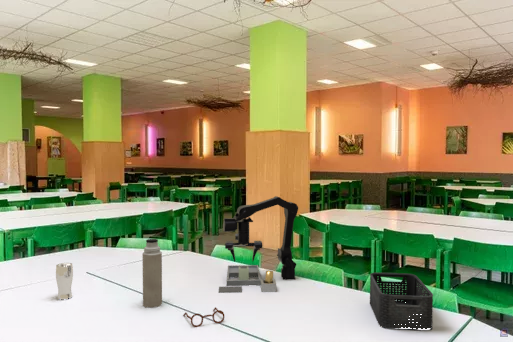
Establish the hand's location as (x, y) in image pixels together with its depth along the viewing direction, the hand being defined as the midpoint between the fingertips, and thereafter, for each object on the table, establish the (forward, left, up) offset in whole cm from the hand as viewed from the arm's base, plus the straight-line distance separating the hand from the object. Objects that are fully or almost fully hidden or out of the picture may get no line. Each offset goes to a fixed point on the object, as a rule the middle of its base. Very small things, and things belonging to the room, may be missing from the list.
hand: (243, 261), depth 211 cm
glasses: (+17, +48, -11) cm, 52 cm away
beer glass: (+81, +22, -10) cm, 84 cm away
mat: (+7, +14, -10) cm, 18 cm away
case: (0, -8, -10) cm, 13 cm away
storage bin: (-61, +48, -11) cm, 79 cm away
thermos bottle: (+40, +32, -10) cm, 52 cm away
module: (0, 0, -10) cm, 10 cm away
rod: (-11, +14, -9) cm, 20 cm away
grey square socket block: (-11, +14, -10) cm, 21 cm away
